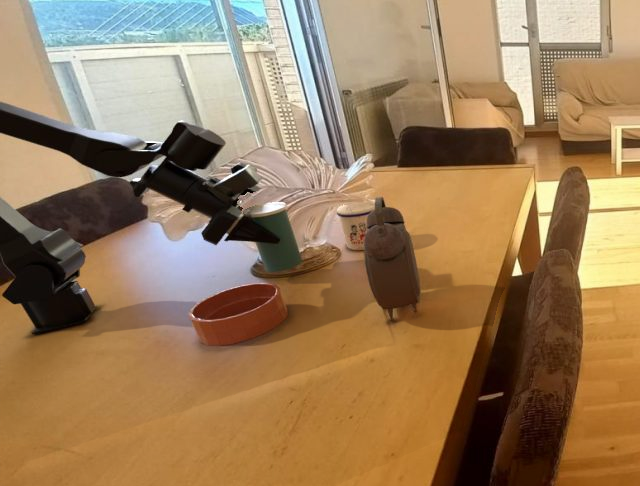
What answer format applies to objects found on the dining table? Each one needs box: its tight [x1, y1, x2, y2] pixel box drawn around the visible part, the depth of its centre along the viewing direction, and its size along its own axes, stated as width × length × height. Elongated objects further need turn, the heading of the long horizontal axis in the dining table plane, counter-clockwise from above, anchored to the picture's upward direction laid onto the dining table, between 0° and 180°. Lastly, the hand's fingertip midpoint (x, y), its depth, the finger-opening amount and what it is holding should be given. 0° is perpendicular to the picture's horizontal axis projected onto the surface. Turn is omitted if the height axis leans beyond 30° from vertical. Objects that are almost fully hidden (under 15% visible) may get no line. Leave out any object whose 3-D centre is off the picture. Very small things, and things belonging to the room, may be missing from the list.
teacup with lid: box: [336, 198, 375, 251], centre depth 109 cm, size 12×9×12 cm
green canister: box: [243, 201, 303, 273], centre depth 91 cm, size 7×7×12 cm
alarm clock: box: [363, 196, 421, 323], centre depth 80 cm, size 15×7×20 cm, turn 23°
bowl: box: [187, 282, 289, 347], centre depth 78 cm, size 12×12×5 cm
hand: (282, 235), depth 92 cm, fingers closed on green canister, 6 cm apart
